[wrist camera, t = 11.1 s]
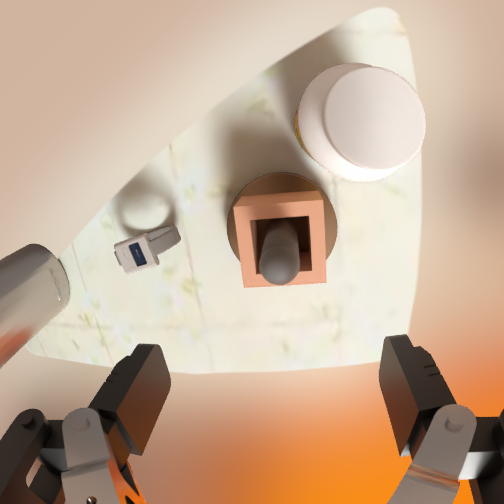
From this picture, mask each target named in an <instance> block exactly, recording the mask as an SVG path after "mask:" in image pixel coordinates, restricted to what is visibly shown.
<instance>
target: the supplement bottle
mask: <svg viewBox="0 0 504 504" xmlns="http://www.w3.org/2000/svg"><path fill="white" fill-rule="evenodd" d="M425 129H426V117H425V112H424V108H423V105H422V103H421V100H420V98H419V96H418V95H417V93H416V91H415V90H414V89H413V87H412V86H411V85H410V84H409V83H408V82H407V81H406V80H405V79H403V78H402V77H401V76H399V75H398V74H396V73H394V72H392V71H390V70H387V69H384V68H380V67H374V66H371V65H367V64H362V63H346V64H340V65H336V66H333V67H331V68H328V69H326V70H325V71H323V72H321V73H320V74H319V75H317V76H316V77H315V78H314V79H313V80H312V81H311V82H310V84H309V85H308V86H307V88H306V90H305V92H304V93H303V96H302V98H301V101H300V103H299V106H298V109H297V112H296V115H295V132H296V136H297V139H298V141H299V143H300V145H301V147H302V148H303V150H304V151H305V152H306V153H307V154H308V155H309V156H310V157H311V158H312V159H313V160H315V161H316V162H317V163H318V164H319V165H320V166H321V167H323V168H324V169H325V170H327V171H328V172H330V173H332V174H334V175H336V176H338V177H340V178H343V179H347V180H351V181H359V182H361V181H373V180H377V179H381V178H384V177H386V176H388V175H390V174H391V173H393V172H394V171H396V170H397V169H398V168H399V167H400V166H402V165H404V164H405V163H407V162H408V161H409V160H410V159H411V158H413V156H414V155H415V154H416V153H417V151H418V150H419V148H420V146H421V144H422V142H423V139H424V135H425Z"/></svg>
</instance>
